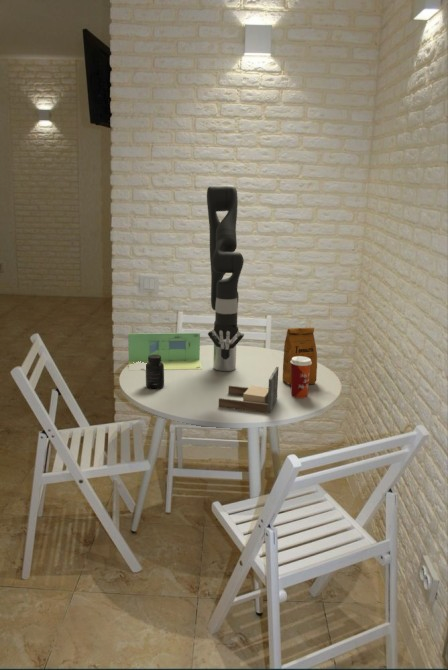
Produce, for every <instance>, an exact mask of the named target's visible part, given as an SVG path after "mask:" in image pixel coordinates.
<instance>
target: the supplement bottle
mask: <svg viewBox="0 0 448 670" xmlns="http://www.w3.org/2000/svg"><path fill="white" fill-rule="evenodd" d="M145 387H146V388H147V389H149V390H152V391H153V390H155V391H156V390H157V391H158V390H160V389H162V388H164V387H165V370H164V365H163V363H162V362H161V356H160V355H149V356H148V363H147V364H146V370H145Z"/></svg>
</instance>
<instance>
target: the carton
mask: <svg viewBox="0 0 448 670" xmlns="http://www.w3.org/2000/svg"><path fill="white" fill-rule="evenodd" d="M247 388H248V389H247V390H246V392H245V393H244V395H243V398H242V401H248V402H256V403H265V404H268V388H269V387H265V386H257V385H250V386H248V387H247Z"/></svg>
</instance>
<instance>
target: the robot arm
mask: <svg viewBox="0 0 448 670" xmlns="http://www.w3.org/2000/svg"><path fill="white" fill-rule="evenodd" d="M238 197H239V196H238V190H237V188H236V186H235V185H233V184H225V185H224V184H219V185H218V184H217V185H210V186H208V187H207V190H206V203H207V204H206V206H207V215H208V226H209V260H210V261H209V262H210V273H211V274H210V275H211V277H210V278H211V279H210V281H211V284H210V288H211V289H210V304H211V305H210V306H211V309H212V310H213V311H215V312H214V313H215V317H214V322H213V323H214V324H213V329H212V330H210V331H208V333H207V335H208V337H209V339H210V340H211V341H212V342H213V364H212V367H213V369H214V370H216V371H220V372H231V371H234V370H236V365H237V345H238V343H239V342H241V340H242V339H244V337H245V334H244V332H243V333H241V331H239V327H238V311H239V291H238V288H239V287H238V286H239V279H240V276H241V274H242V273H241V272H242V270H243V266H244V261H245V260H244V257H243V255H242V253H241V252H239V251H236V250H237V246H238V243H237V219H238V205H239V204H238V202H239V201H238V200H239V198H238ZM217 212H227V213H226V214H225V216H224V217H223V218H222V220H221V221H220V219H219V216H218V213H217ZM226 274H231V275H230V276H229V277H228V278H224V276H225V275H226Z"/></svg>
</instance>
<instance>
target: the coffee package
mask: <svg viewBox="0 0 448 670" xmlns="http://www.w3.org/2000/svg"><path fill="white" fill-rule="evenodd" d="M314 332H315V327H294V328H287V330H286V336H285V339H284V340H285V341H284V344H283V345H284V347H283V361H282V381H284V382H285V383H286V384H288V385H290V386H291V362H290V361H291V360H292V358H293V357H296V356H297V357H298V356H303V357H308V358H310V359H311V362H312V364H311V368H310V376H309V384H308V385H315V384H316V382H317V375H318V372H317V371H318V354H317V353H318V352H317V346H316V341H315V340H316V339H315V333H314Z"/></svg>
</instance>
